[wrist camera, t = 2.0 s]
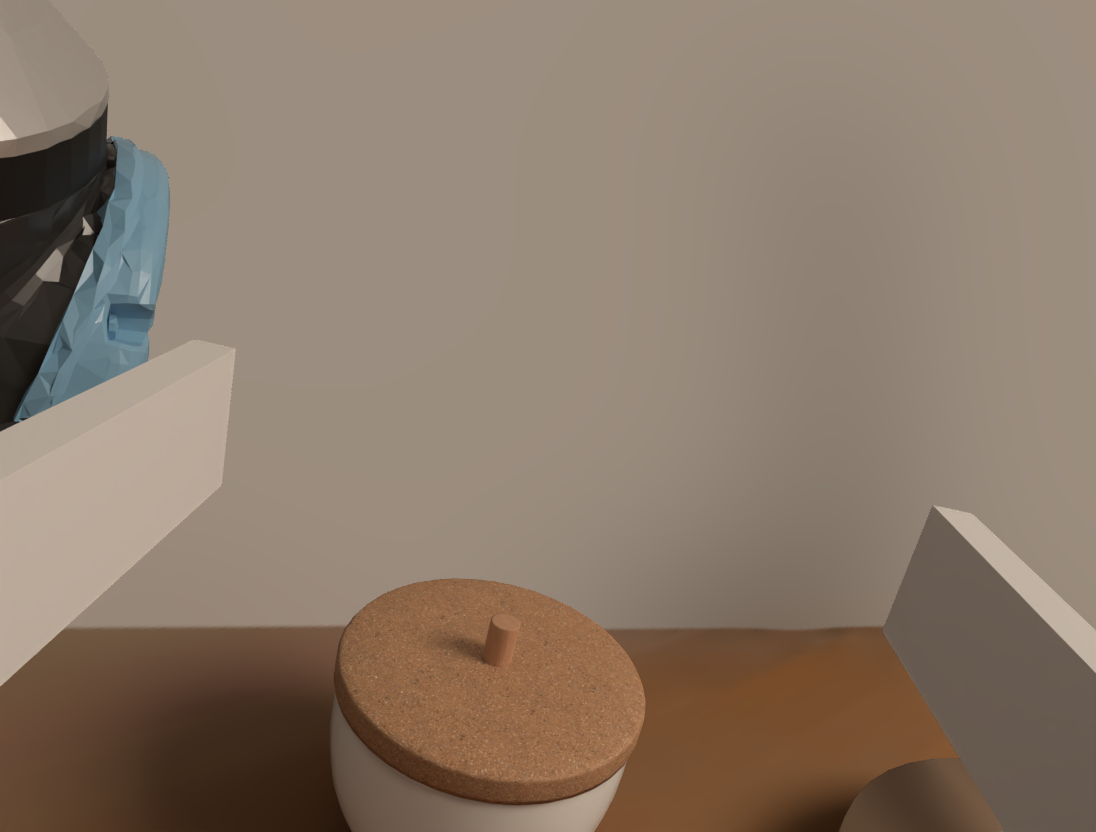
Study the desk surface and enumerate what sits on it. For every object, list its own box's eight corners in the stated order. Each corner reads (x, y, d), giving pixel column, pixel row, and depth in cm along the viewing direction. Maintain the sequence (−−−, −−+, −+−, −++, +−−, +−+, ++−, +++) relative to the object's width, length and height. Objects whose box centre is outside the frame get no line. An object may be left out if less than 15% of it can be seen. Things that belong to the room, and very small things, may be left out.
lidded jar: (484, 702, 38) (528, 524, 35) (651, 879, 31) (723, 674, 28) (258, 783, 31) (288, 568, 28) (405, 1038, 24) (467, 785, 21)
